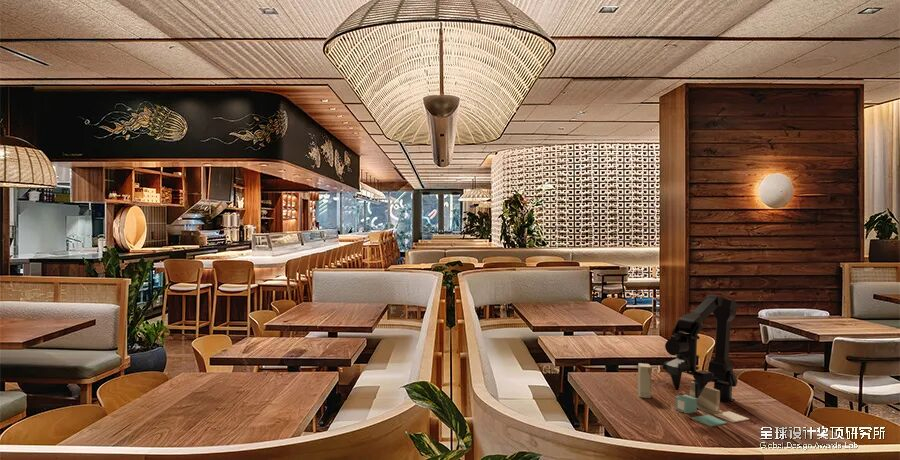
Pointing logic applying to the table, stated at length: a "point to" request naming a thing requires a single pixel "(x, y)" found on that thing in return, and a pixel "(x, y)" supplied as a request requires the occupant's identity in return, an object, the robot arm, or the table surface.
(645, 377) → the skincare box
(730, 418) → the ivory coaster
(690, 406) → the cube
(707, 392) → the screen
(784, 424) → the table surface
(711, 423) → the teal coaster
